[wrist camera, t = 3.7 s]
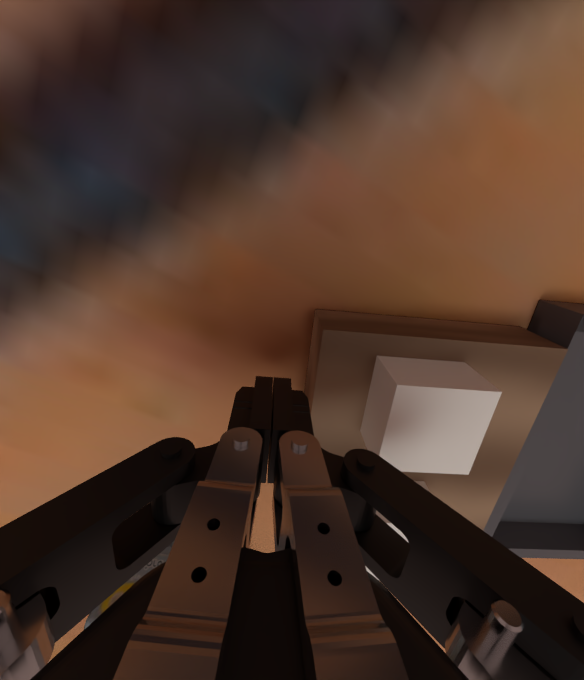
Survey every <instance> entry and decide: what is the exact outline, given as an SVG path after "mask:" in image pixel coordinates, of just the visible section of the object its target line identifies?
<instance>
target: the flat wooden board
mask: <svg viewBox="0 0 584 680" xmlns="http://www.w3.org/2000/svg"><path fill="white" fill-rule="evenodd" d="M567 351H568V349H567V348H565V347H562V346H560V345H558V344H556V343H554V342H552V341H550V340H547V339H545V338H543V337H541V336H539V335H537V334H535V333H532V332H530V331H528V330H526V329H524V328H522V327H520V326H508V325H496V324H484V323H473V322H461V321H449V320H437V319H426V318H414V317H402V316H391V315H379V314H367V313H355V312H344V311H332V310H320V309H315V315H314V323H313V330H312V338H311V345H310V353H309V360H308V368H307V375H306V383H305V391H304V394H305V395H306V396H307V397H308V401H309V408H310V414H311V420H312V426H313V432H314V437H316V438H317V440H318V441H319V443H320V446H321V448H323V449H324V450H326V451H328V452H330V453H332V454H336V455H339V456H342V457H344V456H345V454H346V453H347V452H348V451H350V450H352V449H366V450H367V447H366V445H365V442H364V439H363V437H362V434H361V431H360V430H361V425H362V421H363V416H364V411H365V407H366V402H367V398H368V393H369V389H370V384H371V380H372V375H373V371H374V366H375V362H376V357H377V356H388V357H401V358H415V359H428V360H441V361H455V362H465V363H466V364H467V365H469V366H470V367H471V368H472V369H474V370H475V371H476V372H477V373H479V374H480V375H481V376H482V377H484V378H485V379H486V380H487V381H489V382H490V383H491V384H492V385H494V386H495V387H496V388H497V389H499V390H500V391H501V392H502V393H501V396H500V398H499V401H498V403H497V406H496V408H495V411H494V413H493V416H492V418H491V421H490V423H489V426H488V428H487V430H486V433H485V435H484V438H483V440H482V443H481V445H480V448H479V450H478V453H477V455H476V458H475V460H474V463H473V465H472V467H471V470H470V472H469V475H464V474H442V473H421V472H402V473H404V474H405V475H406V476H408V477H409V478H411V479H412V480H413V481H424V482H425V484H426V486H427V488H428V489H429V491H430V493H431V494H433V495H434V496H436V497H437V498H438V499H440V500H441V501H443V502H444V503H445V504H447V505H448V506H450V507H451V508H452V509H454V510H455V511H456V512H458V513H459V514H461V515H462V516H463V517H465V518H466V519H468V520H469V521H470V522H472V523H473V524H475V525H476V526H477V527H479V528H480V529H481V530H484V528H485V526H486V524H487V521H488V519H489V517H490V515H491V513H492V511H493V509H494V507H495V504H496V502H497V500H498V498H499V496H500V494H501V492H502V489H503V487H504V485H505V483H506V481H507V479H508V477H509V475H510V472H511V470H512V468H513V466H514V464H515V462H516V460H517V457H518V455H519V453H520V451H521V449H522V447H523V445H524V443H525V440H526V438H527V436H528V434H529V432H530V430H531V428H532V426H533V423H534V421H535V419H536V417H537V415H538V413H539V411H540V408H541V406H542V404H543V402H544V400H545V398H546V396H547V394H548V391H549V389H550V387H551V385H552V383H553V381H554V379H555V376H556V374H557V372H558V370H559V368H560V366H561V364H562V362H563V359H564V357H565V355H566V353H567Z"/></svg>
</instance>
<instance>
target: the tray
mask: <svg viewBox="0 0 584 680" xmlns="http://www.w3.org/2000/svg"><path fill="white" fill-rule="evenodd" d="M528 331H530V332H532V333H535V334H537V335H539V336H541V337H543V338H545V339H547V340H550V341H552V342H554V343H556V344H558V345H560V346H562V347H565V348H567V349H568V351H567V353H566V355H565V357H564V359H563V362H562V364H561V366H560V368H559V370H558V372H557V374H556V376H555V379H554V381H553V383H552V385H551V387H550V389H549V391H548V394H547V396H546V398H545V400H544V402H543V404H542V406H541V408H540V411H539V413H538V415H537V417H536V419H535V421H534V423H533V426H532V428H531V430H530V432H529V434H528V436H527V438H526V440H525V443H524V445H523V447H522V449H521V451H520V453H519V455H518V457H517V460H516V462H515V464H514V466H513V468H512V470H511V472H510V475H509V477H508V479H507V481H506V483H505V485H504V487H503V489H502V492H501V494H500V496H499V498H498V500H497V502H496V504H495V507H494V509H493V511H492V513H491V515H490V517H489V519H488V521H487V524H486V526H485V528H484V530H483V531H484V532H486V533H487V534H488V535H490V536H491V537H493V538H494V539H495V540H497V541H498V542H500V543H501V544H502V545H504V546H505V547H506V548H508V549H509V550H511V551H512V552H513V553H515V554H516V555H518V556H519V557H522V558H560V559H584V304H578V303H567V302H556V301H546V300H539V303H538V305H537V308H536V310H535V312H534V315H533V317H532V320H531V322H530V325H529V327H528Z"/></svg>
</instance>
